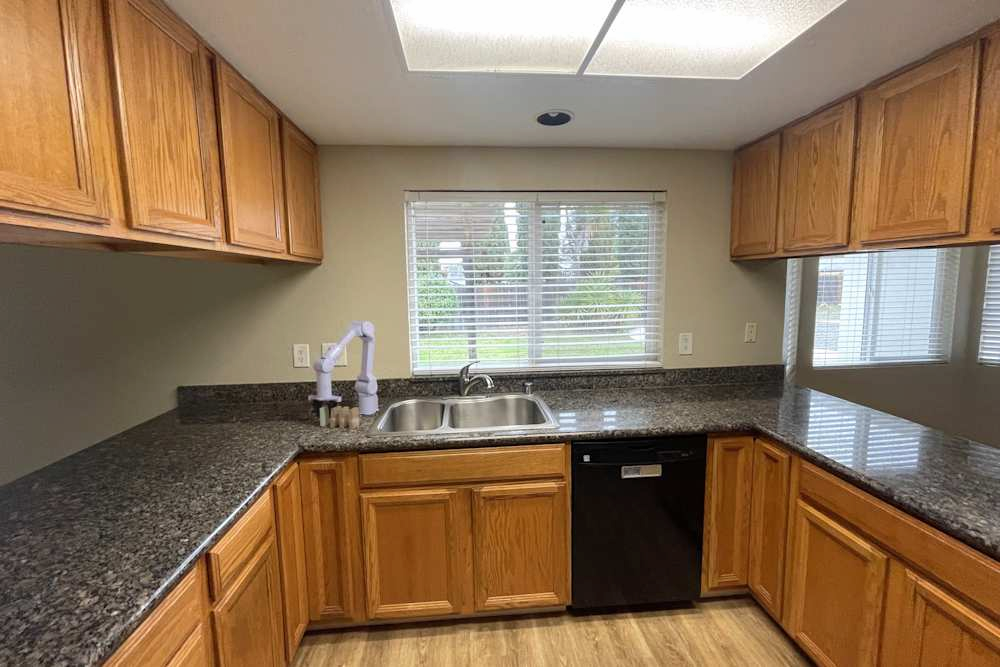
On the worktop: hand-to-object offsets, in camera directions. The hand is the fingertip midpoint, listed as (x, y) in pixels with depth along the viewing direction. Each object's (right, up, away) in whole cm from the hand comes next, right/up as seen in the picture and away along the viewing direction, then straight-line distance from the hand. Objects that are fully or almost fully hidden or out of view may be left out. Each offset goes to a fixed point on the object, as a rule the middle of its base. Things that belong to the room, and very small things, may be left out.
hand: (325, 417), depth 180 cm
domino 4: (+13, -4, -2) cm, 14 cm away
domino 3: (+9, -4, -1) cm, 10 cm away
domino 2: (+4, -3, 0) cm, 6 cm away
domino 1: (0, -3, 0) cm, 3 cm away
